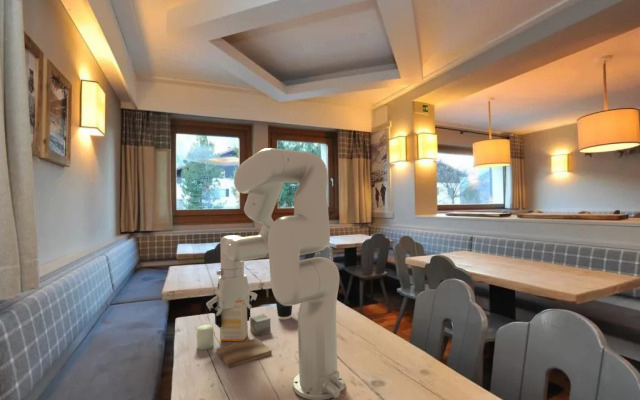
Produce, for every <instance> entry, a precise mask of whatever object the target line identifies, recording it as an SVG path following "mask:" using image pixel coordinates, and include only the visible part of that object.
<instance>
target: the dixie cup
mask: <svg viewBox="0 0 640 400" xmlns="http://www.w3.org/2000/svg"><path fill="white" fill-rule="evenodd" d="M275 303H276V304H275V305H276V313H277V316H278V319H279V320H289V319H291V317H292V312H293V305H292V306H285V305H282V304H280V303H279V302H278V301H277V300H276V299H275Z"/></svg>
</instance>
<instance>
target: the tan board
mask: <svg viewBox="0 0 640 400" xmlns="http://www.w3.org/2000/svg"><path fill="white" fill-rule="evenodd" d="M216 354H217V355H218V357H219V358H220V359H221V360H222V361H223V362H224V363H225V365H226V366H227V367H228V368H229V369H230V368H233V367H236V366H239V365H243V364H247V363H248V362H253V361H255V360H259V359H261V358H265V357H268V356H272V354H273V352H272V349H270V348H269V347H268V346H267V345H266V344H265V343H264V342H262V341H261V340H260V339H259V338H258V337H255V338H252V339H248V340H244V341H239V342H237V343H234V344H230V345H227V346H223V347H220V348H217V349H216Z"/></svg>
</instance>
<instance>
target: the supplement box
mask: <svg viewBox="0 0 640 400" xmlns="http://www.w3.org/2000/svg"><path fill="white" fill-rule="evenodd" d="M219 308H220V307H219ZM220 315H221V325H222V327H220V328H219V340H220V342H244V341H246V338H247V337H248V336H249V329H248V328H249V327H248V321H247V305H245V300H242V301H238V302H235V303H234V307H233V308H231V309H225V310H224V309H223V310H222V312H221V313H220Z"/></svg>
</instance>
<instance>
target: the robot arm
mask: <svg viewBox="0 0 640 400" xmlns="http://www.w3.org/2000/svg"><path fill="white" fill-rule="evenodd" d="M284 183H286V184H289V183H292V184H293V183H294V184H298V186H297V187H296V190H295V192H294V195H293V215H284V216H280V217H278V218H276V219H275V220H274V219H273V217H272V215H273V212H274V209H275V207H276V205H277V202H278V200H279V196H280V194H281V191H282V189H283V187H284ZM233 184H234V188H235V190H237V192H239V193H241V194H248V195H247V198H246V201H245V204H244V207H243V211H244V214H245V216H246V217H248V218H249V219H250V220H252V221H253V222H256V223H259V224H261V225H262V226H261V229H260V230H259V233H258V234H257V235H249V236H241V235H238V234H237V235H235V234H233V235H232V234H230V235H224V236H222V237H221V239H220V242H219V243H220V245H219V247H220V268H219V270H216V276H220V277H218V282H217V287H216V296H214V297H212V298H211V299H210V300H208V301H207V302H206V306H207V308H208V309H209V311H210V312H211V313H212V314H214V323H215V326H217V328H219V329H220V327H222V325H221V315H220V313H221V312H222V310H223V309H224V310H225V309H231V308H233V307H234V303H235V302H238V301H242V300H245V305H247V322H250V317H251V310H252V307H253V305H254V304H255V303H256V300H257V297H258V294H257V293H256V292H253V291H250V288H249V280H248V276H247V275H246V274H245V261H246V262H247V261H249V260H256V259H262V258H265V257H266V256H267V255H268V260H269V275H270V284H271V291H272V294H273V297H274V299H275V301H276V300H277V301H278V302H279V303H280V304H282V305H285V306H292V307H293V306H295V305H298V304H299V307H298V311H297V312H298V313H297V339H298V340H297V341H298V374H297V375H296V376H295V377H294V378H293V381H292V389H293V390H294V392H295V394H296V395H298V396H299V397H301V398H302V399H303V398H304V399H306V400H329V399H331V398H332V399H333V398H335V399H336V398H339V397H340V395H341V392H342V391H343V390H345V388H346V387H345V386H346V385H345V381H344V377H343V376H342V375H341V374H340V371H339V370H338V343H337V342H338V341H337V340H338V339H337V338H338V336H337V333H338V332H337V300H338V292H339V287H340V272H339V269H338V267H337V265H336V263H335V262H334V261H333V260H331V259H330V258H327V257H324V256H323V257H321V256H317V257H312V258H311V257H310V258H305V259H301V260H300V256H303V255H309V254H313V253H317V252H321V251H323V250H325V249H326V248H327V247H328V246H329V244H330V241H331V232H330V231H331V229H330V218H329V204H328V169H327V166H326V163H325V161H324V160H323V159H322V157H320V156H319V155H317V154H315V153H311V152H307V151H303V150H302V151H301V150H294V149H284V148H275V147H274V148H272V147H269V148H263V149H261V150H259V151H258V152H256V153H255V154H253V155H252V156H250V157H248V158H247V159H245V160H244V161H243V162H242V163H240V165H239V166H238V167H237V169H236V171H235V173H234V177H233ZM250 296H251V298H250ZM215 303H216V305H217V306H216V307H215V308H214V306H213V305H214V304H215ZM219 307H220V308H219Z"/></svg>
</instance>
